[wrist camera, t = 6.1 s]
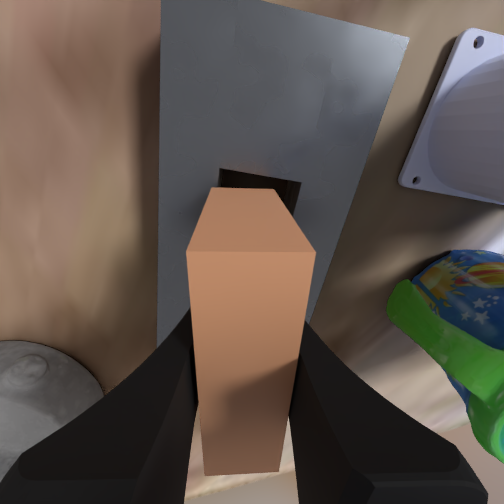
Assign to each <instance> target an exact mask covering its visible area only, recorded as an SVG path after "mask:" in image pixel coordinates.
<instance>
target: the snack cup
mask: <svg viewBox="0 0 504 504" xmlns="http://www.w3.org/2000/svg"><path fill="white" fill-rule="evenodd" d="M386 312H387V315H388V317H389V320H390V321H391V322H393V323H394V324H395V325H396V326H397V327H398V328H400V329H401V330H402V331H403V332H404V333H406V334H407V335H408V336H409V337H410V338H412V339H413V340H414V341H415V342H416V343H417V344H419V345H420V346H421V347H422V348H423V349H424V350H425V351H426V352H427V353H428V354H429V355H430V356H431V357H432V358H433V359H434V360H435V361H436V362H437V363H438V364H439V365H440V366H441V367H442V369H443V370H444V371H445V372H446V374H447V377H448V379H449V381H450V382H451V384H452V385H453V387H454V388H455V389H456V390H457V392H458V393H459V395H460V396H461V398H462V399H463V401H464V403H465V404H466V412H467V414H468V417H469V420H470V422H471V427H472V430H473V433H474V436H475V437H476V439H477V441H478V442H479V443H480V444H481V446H482V447H483V448H484V449H485V450H486V451H487V452H488V453H489V454H491V455H493V456H494V457H496V458H497V459H498V460H499V461H501V462H502V463H504V255H502V254H497V253H494V252H490V251H484V250H453V251H451V252H450V254H449V255H447V256H445V257H443V258H441V259H439V260H437V261H435V262H434V263H432V264H430V265H429V266H428V267H426V268H425V269H424V270H423V271H422V272H421V273H420V274H419V275H417V276H415V277H414V278H413V280H412V282H410V280H408V279H405V280H402V281H401V282H399V283H398V284H396V286H395V288H394V290H393V292H392V294H391V295H390V297H389V299H388V301H387V307H386Z"/></svg>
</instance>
